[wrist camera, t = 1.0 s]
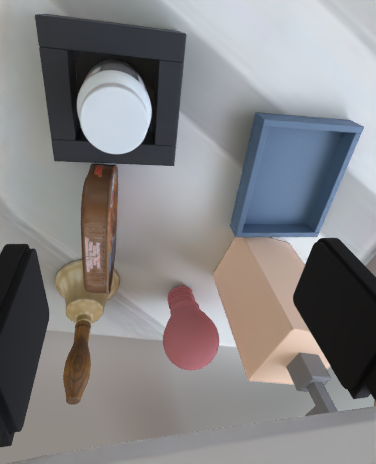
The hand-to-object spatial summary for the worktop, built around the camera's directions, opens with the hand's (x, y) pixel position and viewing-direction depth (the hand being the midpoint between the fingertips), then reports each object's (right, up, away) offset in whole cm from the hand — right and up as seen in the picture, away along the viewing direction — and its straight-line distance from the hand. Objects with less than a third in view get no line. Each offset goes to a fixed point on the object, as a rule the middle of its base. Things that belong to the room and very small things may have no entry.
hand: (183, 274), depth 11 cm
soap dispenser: (+8, -4, +36) cm, 37 cm away
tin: (-10, +4, +26) cm, 28 cm away
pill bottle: (-7, +15, +19) cm, 25 cm away
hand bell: (-13, -5, +32) cm, 35 cm away
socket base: (-7, +15, +19) cm, 25 cm away
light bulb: (-1, -7, +36) cm, 37 cm away
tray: (+12, +8, +27) cm, 31 cm away
